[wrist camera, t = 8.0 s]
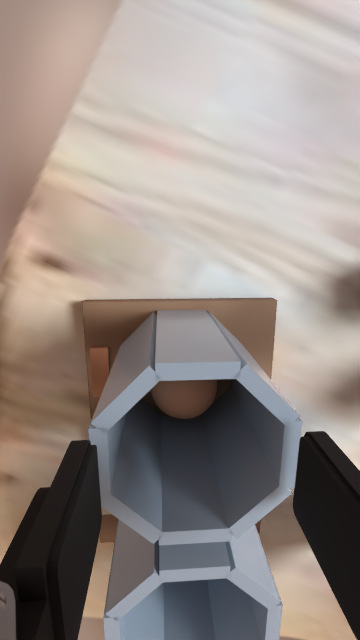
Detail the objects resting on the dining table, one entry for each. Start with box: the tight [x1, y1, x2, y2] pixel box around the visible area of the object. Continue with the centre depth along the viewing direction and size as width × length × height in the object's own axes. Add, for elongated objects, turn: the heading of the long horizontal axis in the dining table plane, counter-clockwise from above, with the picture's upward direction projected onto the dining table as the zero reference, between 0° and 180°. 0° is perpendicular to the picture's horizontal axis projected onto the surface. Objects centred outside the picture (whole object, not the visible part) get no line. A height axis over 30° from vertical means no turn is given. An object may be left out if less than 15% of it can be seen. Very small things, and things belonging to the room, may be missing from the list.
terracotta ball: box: [151, 379, 217, 419], centre depth 17 cm, size 4×4×4 cm
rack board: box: [82, 298, 277, 542], centre depth 20 cm, size 17×11×1 cm, turn 0°
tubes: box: [88, 310, 302, 640], centre depth 16 cm, size 16×7×8 cm, turn 0°
